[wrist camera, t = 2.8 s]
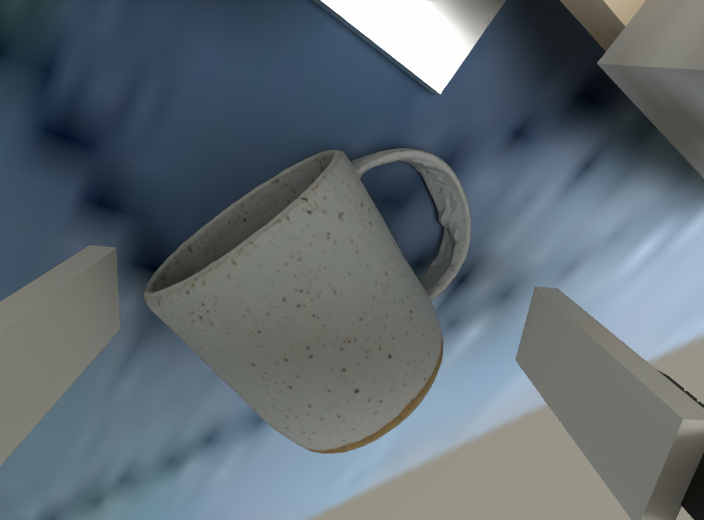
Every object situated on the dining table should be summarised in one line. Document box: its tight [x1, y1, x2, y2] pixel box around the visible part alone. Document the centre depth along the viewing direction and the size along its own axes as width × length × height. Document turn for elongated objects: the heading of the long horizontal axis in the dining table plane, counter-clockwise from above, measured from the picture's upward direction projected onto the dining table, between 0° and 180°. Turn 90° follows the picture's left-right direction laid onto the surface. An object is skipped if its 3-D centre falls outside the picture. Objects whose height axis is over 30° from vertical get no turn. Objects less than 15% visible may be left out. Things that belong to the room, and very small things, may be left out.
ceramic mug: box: [143, 148, 471, 453], centre depth 16 cm, size 11×8×8 cm
